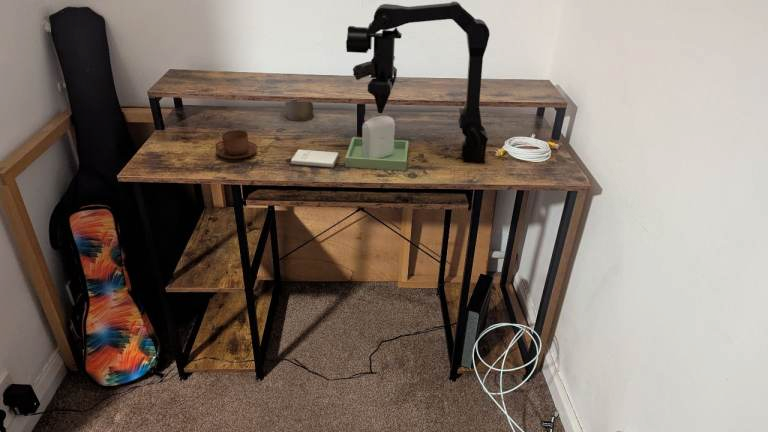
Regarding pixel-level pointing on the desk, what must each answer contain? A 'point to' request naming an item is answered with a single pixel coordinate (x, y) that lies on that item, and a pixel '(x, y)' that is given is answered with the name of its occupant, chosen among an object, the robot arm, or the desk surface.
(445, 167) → the desk surface
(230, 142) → the cup and saucer
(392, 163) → the tray
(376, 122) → the white rounded tower
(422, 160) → the desk surface
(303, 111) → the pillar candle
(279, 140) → the desk surface
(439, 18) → the robot arm
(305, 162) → the hard drive
